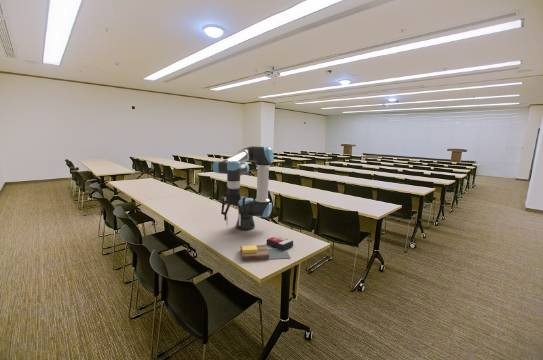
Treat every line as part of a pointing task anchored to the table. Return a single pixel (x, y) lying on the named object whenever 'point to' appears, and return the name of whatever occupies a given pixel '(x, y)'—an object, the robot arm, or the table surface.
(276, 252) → the mat
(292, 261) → the table surface
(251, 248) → the butter yellow block
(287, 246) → the calculator
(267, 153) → the robot arm
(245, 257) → the brown wooden slab
